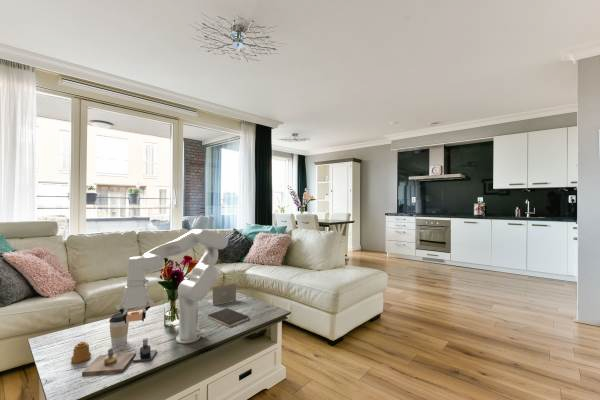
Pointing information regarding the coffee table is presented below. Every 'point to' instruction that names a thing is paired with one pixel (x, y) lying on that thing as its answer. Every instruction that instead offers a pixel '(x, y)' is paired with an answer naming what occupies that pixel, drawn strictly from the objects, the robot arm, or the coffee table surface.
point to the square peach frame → (134, 316)
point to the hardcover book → (228, 317)
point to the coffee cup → (118, 330)
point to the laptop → (223, 294)
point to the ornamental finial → (81, 353)
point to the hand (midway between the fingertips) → (134, 321)
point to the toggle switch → (109, 363)
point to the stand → (145, 353)
